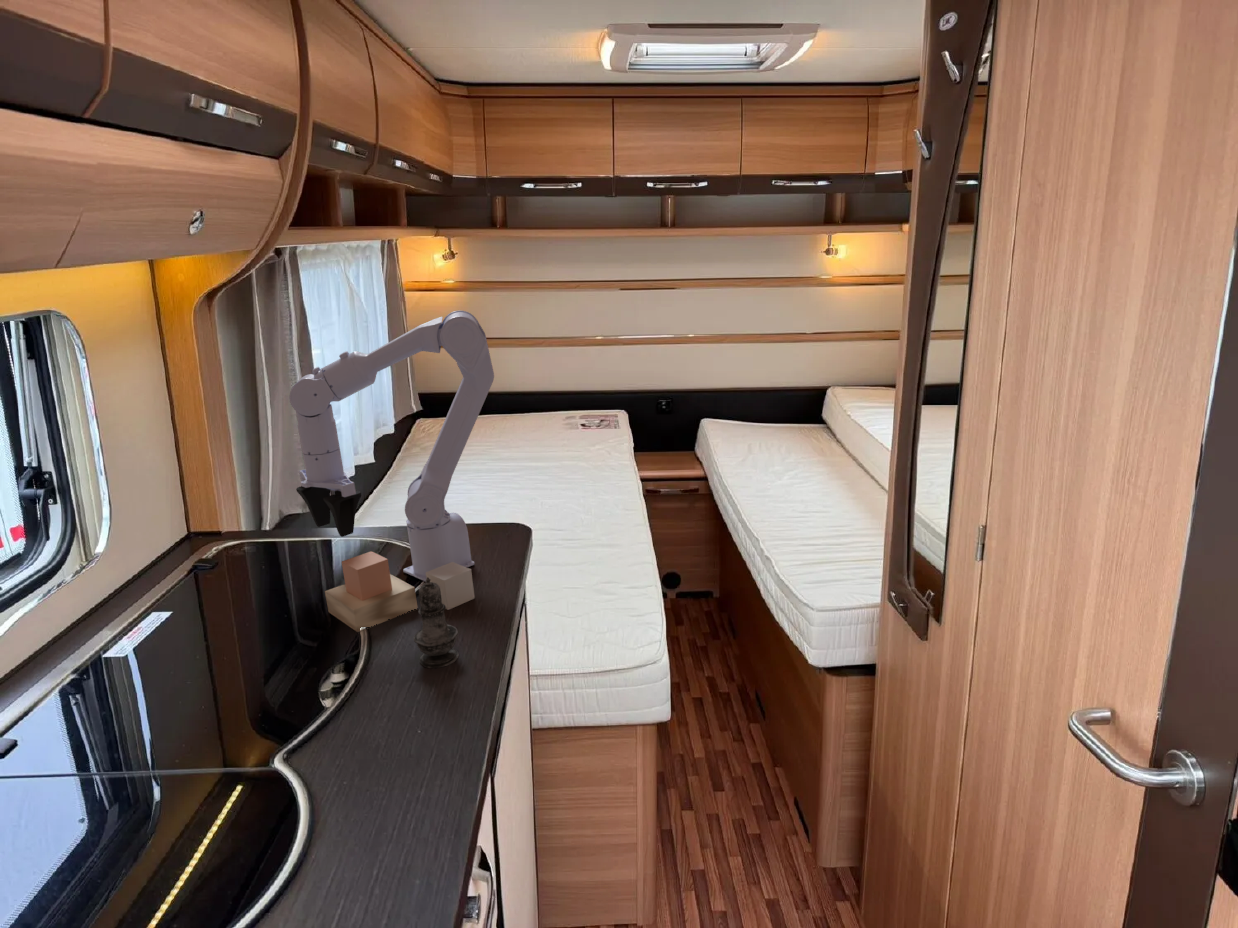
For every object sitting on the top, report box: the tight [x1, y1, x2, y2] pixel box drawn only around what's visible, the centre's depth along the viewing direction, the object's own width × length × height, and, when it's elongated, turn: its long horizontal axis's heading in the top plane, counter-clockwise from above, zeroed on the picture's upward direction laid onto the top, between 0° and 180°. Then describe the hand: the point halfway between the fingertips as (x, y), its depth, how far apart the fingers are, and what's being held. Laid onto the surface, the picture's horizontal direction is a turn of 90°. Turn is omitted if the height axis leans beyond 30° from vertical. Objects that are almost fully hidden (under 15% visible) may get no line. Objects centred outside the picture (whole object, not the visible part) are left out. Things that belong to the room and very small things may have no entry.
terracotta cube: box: [341, 551, 392, 601], centre depth 131 cm, size 5×5×5 cm
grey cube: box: [426, 562, 475, 610], centre depth 135 cm, size 5×5×5 cm
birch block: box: [324, 573, 419, 633], centre depth 133 cm, size 10×10×4 cm
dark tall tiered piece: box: [413, 577, 460, 669], centre depth 116 cm, size 6×6×12 cm
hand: (334, 529), depth 142 cm, fingers open, 7 cm apart
